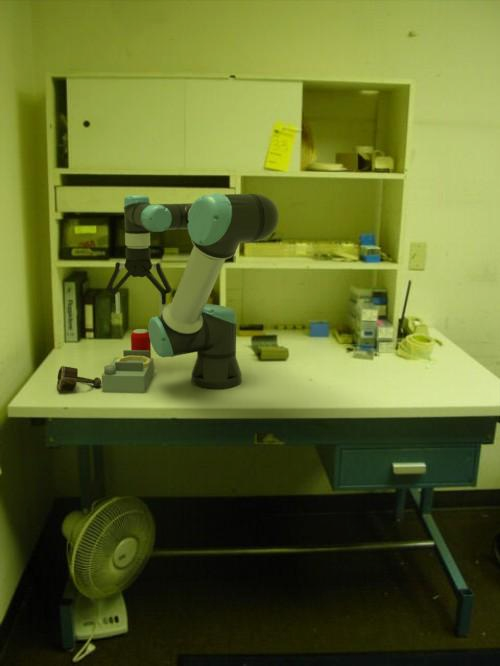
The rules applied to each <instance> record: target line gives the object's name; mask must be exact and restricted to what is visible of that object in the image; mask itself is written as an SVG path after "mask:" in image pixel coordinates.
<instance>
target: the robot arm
mask: <svg viewBox="0 0 500 666" xmlns="http://www.w3.org/2000/svg"><path fill="white" fill-rule="evenodd" d="M123 200H124V201H123V202H124V203H123V211H124V212H123V213H124V241H125V246H126V247H125V262H121V261H119V260H118V261H116V262H115V267H114V271H113V273H112V275H111V277H110V280H109V281H108V284H107V286H106V288H105V291H106V292H109V293H111V299H112V300H111V301H112V304H115V315H120V313H121V295H120V293H121V292H118V290H120V288H121V287H122V286H123V285H124V283H125V282H126V281H127V280H128V279H129V277H133V278H137V277H139V278H144V277H146V278H147V280H149V281H150V282H151V283H152V285H153V286H154V287H155V288H156V289H157V291H158V292H159V294H158V301H159V302H158V303H159V304H158V308H159V309H158V310H159V313H158V314H159V316H157V315H156V316H153V317H151V318H150V319H149V322H148V326H147V327H148V332H149V337H150V341H151V346H152V348H153V350H154V352H155V353H156V355H158V356H159V357H161V358H168V357H169V358H170V357H171V358H174V357H176V356H181V355H188V354H191V353H192V354H193V353H197V354H196V355H197V356H196V359H195V362H194V364H193V368H192V371H191V383H192V384H193V385H194V386H197V387H201V388H203V389H210V390H211V389H214V390H215V389H216V390H218V389H219V390H220V389H221V390H222V389H229V388H233V387H237V386H238V385H240V384H241V383H242V372H241V368H240V365H239V362H238V359H237V325H238V321H237V313H236V311H235V310H234V309H233V308H232V307H228V306H224V305H220V304H212V303H211V304H209V303H207V302H208V300H209V298H210V295H211V293H212V291H213V289H214V286H215V284H216V282H217V280H218V277H219V275H220V272H221V270H222V268H223V266H224V263H225V261H226V260H227V259H231V258H232V257H233V256H234V255H235V254H236V251H237V250H238V247H239V245H240V244H241V243H253V242H259V241H264V240H265V239H267V238H269V237H270V236H271V235H273V233H274V232H275V231H276V230H277V228H278V225H279V221H280V216H279V215H280V214H279V210H278V206H276V203H274V201H273V200H272V199H270V198H269V197H267V196H265V195H263V194H259V193H233V194H232V193H231V194H230V193H229V194H225V193H218V192H216V193H212V194H204V195H202V196H199V197H198V198H196V199H195V200H194V202H191V203H189V202H188V203H150V197H149V196H147V195H145V194H144V195H143V194H129V195H128V194H127V195H125V197H124V199H123ZM167 230H168V231H172V230H174V231H175V230H188V231H187V232H188V235H189V237H190V239H191V243H192V245H193V248H192V249H191V251H190V252H191V253H190V254H189V257H188V260H187V262H186V265H185V267H184V271H183V274H182V275H181V278H180V281H179V284H178V286H177V289H176V291H175V294H174V297H173V299H172V302H170V303H168V304H167V294H170V293H171V292H172V291H173V289H172V286H171V285H170V283H169V281H168V278H167V277H166V275H165V273H164V271H163V269H162V268H163V267H162V263H161V261H158V262H155V263H153V262H152V261H151V259H152V258H151V247H150V246H151V232H153V233H155V232H156V233H157V232H158V233H161V232H164V231H167ZM123 268H125V270H126V273H125V275H124V276H123V277H121V279H120V280H119V281H118V283H117V284H116V285H115V287H113V286H114V284H115V282H116V280H117V277H118V276H119V273H120V272H121V270H123ZM152 268H153V270H155V271H156V272H157V275H158V277H159V279H160V280H161V283H162V284H163V285H162V284H161V283H160V282H159V280H158V279H157V278H156V277H155V276H154V273H152V272H151V270H152Z"/></svg>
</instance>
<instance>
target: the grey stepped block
mask: <svg viewBox="0 0 500 666" xmlns="http://www.w3.org/2000/svg"><path fill="white" fill-rule="evenodd" d="M122 352H123V356H121V357H116V356H114V357H113V359H112V360H111V362H110V363H109V364H107V365H104V367H103V373H102V374H101V391H102V393H135V394H136V393H137V394H139V393H141V394H143V393H145V392H146V390H147V387H148V386H149V384H150V382H151V380H152V378H153V375H154V372H155V371H154V370H155V369H154V368H155V367H154V365H155V364H154V357H151V358H150V351H146V350H131V349H123V351H122Z"/></svg>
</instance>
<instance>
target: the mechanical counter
mask: <svg viewBox="0 0 500 666" xmlns="http://www.w3.org/2000/svg"><path fill="white" fill-rule="evenodd" d="M78 372H79V369H78V368H76V367H70V366H65V365H61V366H60V368H59V369H58V372H57V373H58V374H57V382H56V388H57V390H63V389H64V390H72V391H74V390H75V388H76V385H77V383H78V384H79V383H80V384H91V385H92V384H93V386H94V387H96V388H99V387H100V386H102V379H101V378H100V377H95V378H94V379H91V378H86V377H83V376H78V375H79V373H78Z"/></svg>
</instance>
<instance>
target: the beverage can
mask: <svg viewBox="0 0 500 666" xmlns="http://www.w3.org/2000/svg"><path fill="white" fill-rule="evenodd" d="M151 346H152V344H151V341H150V337H149V330H147V328H146V329H145V328H137V329H134V330H132V332H131V334H130V350H146V351H150V358H152V348H151Z"/></svg>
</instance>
